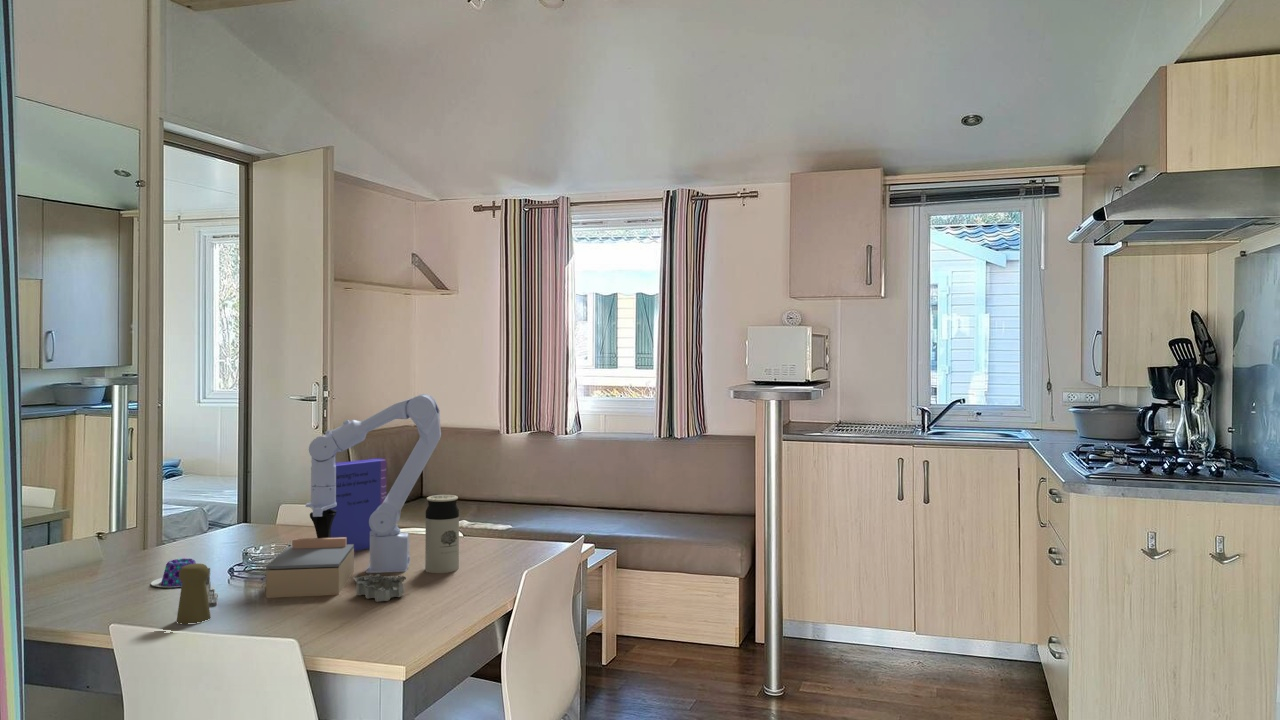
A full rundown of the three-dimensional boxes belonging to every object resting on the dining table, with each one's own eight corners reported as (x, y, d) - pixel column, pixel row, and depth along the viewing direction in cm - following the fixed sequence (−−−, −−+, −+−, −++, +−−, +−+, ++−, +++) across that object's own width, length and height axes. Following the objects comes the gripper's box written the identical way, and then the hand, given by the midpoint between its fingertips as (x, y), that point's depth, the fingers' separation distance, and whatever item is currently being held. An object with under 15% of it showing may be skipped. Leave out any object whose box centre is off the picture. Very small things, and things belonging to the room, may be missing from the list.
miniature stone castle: (173, 601, 183) (173, 565, 183) (218, 596, 187) (219, 561, 187) (169, 612, 175) (169, 575, 175) (216, 608, 179) (217, 571, 179)
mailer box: (353, 572, 207) (353, 548, 207) (338, 595, 187) (338, 568, 187) (288, 575, 204) (288, 550, 204) (266, 598, 185) (266, 570, 185)
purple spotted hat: (143, 583, 197) (143, 561, 197) (198, 574, 206) (198, 552, 206) (161, 593, 189) (161, 569, 189) (218, 583, 198) (218, 560, 198)
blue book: (375, 543, 239) (375, 458, 239) (386, 546, 236) (386, 459, 236) (319, 555, 225) (320, 464, 225) (330, 557, 222) (331, 465, 222)
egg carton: (408, 595, 185) (408, 576, 185) (378, 604, 179) (377, 585, 179) (381, 584, 192) (381, 566, 192) (351, 593, 186) (350, 574, 186)
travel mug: (422, 568, 211) (422, 495, 211) (454, 565, 215) (455, 493, 215) (428, 576, 204) (429, 500, 204) (462, 572, 207) (462, 498, 207)
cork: (184, 615, 172) (184, 561, 172) (215, 615, 172) (215, 560, 172) (170, 625, 166) (170, 568, 166) (203, 624, 166) (203, 568, 166)
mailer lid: (353, 546, 207) (353, 536, 207) (338, 566, 187) (338, 554, 187) (288, 548, 204) (288, 537, 204) (266, 569, 185) (266, 557, 185)
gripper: (312, 481, 214) (312, 535, 214) (299, 490, 200) (299, 548, 200) (342, 480, 215) (341, 534, 215) (330, 489, 201) (330, 547, 201)
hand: (323, 541), depth 208 cm, fingers closed
